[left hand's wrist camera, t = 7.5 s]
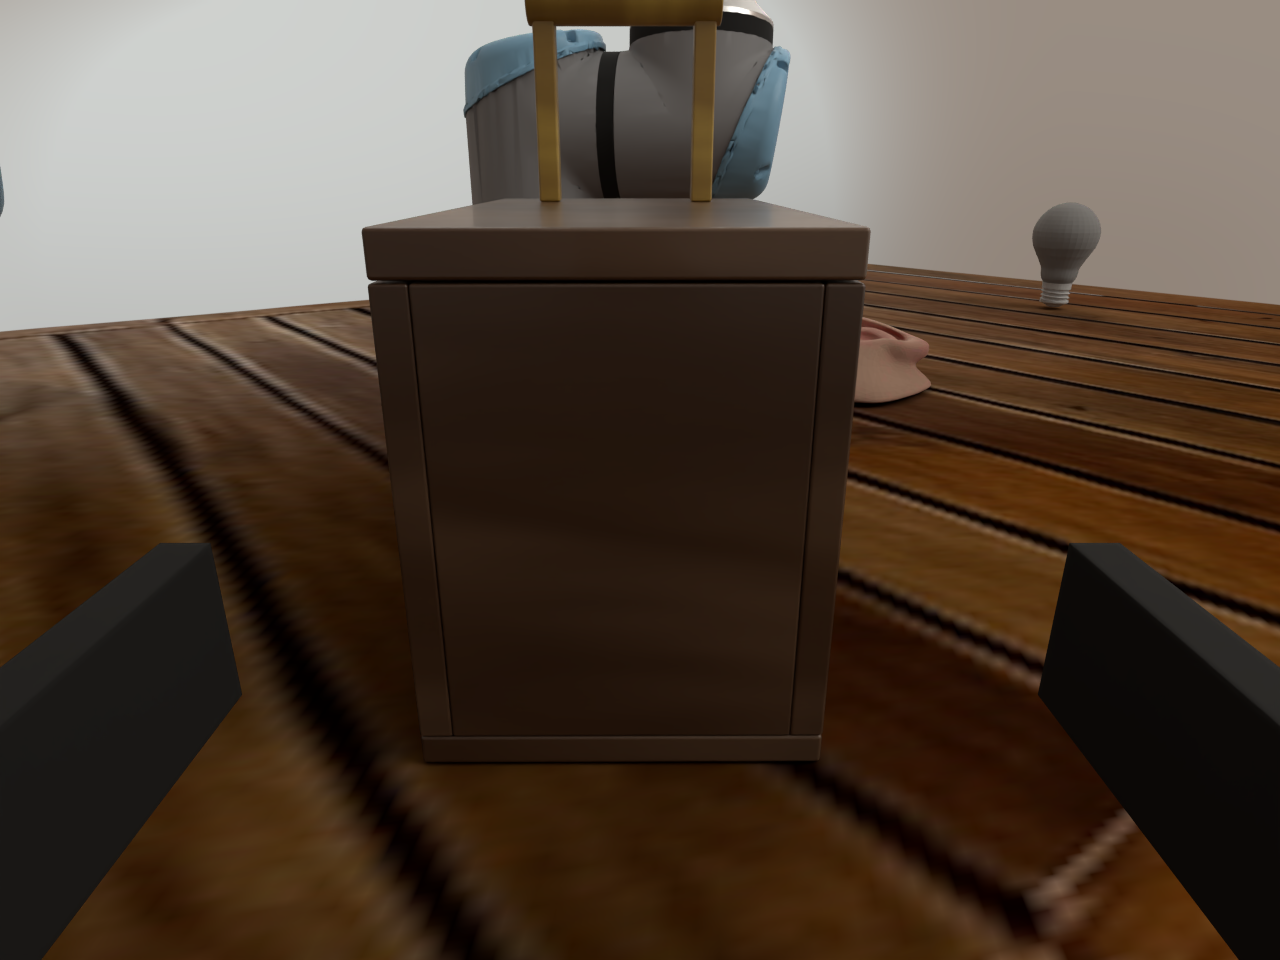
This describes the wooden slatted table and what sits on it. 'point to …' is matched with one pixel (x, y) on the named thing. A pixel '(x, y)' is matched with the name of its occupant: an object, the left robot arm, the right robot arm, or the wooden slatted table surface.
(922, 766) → the wooden slatted table surface
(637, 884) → the wooden slatted table surface
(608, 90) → the right robot arm
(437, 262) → the lid
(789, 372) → the chest
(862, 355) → the anatomical model
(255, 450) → the wooden slatted table surface
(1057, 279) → the light bulb
